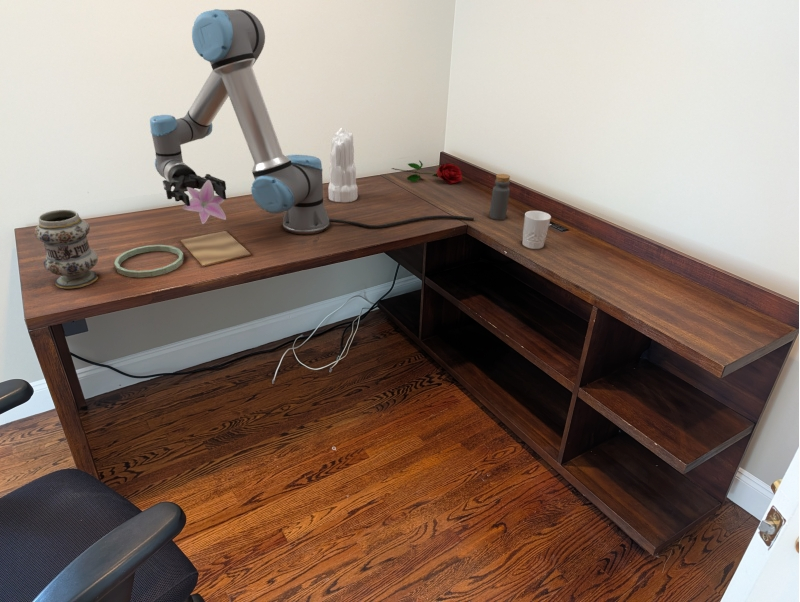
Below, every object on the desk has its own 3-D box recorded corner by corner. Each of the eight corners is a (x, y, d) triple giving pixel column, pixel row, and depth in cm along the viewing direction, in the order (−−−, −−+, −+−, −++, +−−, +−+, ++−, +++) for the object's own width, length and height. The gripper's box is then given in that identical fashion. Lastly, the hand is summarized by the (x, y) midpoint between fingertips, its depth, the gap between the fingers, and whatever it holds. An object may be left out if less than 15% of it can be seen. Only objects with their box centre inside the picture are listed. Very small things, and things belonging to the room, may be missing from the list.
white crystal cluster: (352, 203, 195) (352, 134, 183) (325, 200, 197) (322, 132, 184) (360, 194, 205) (360, 128, 192) (333, 191, 206) (332, 125, 194)
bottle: (487, 218, 188) (492, 176, 180) (491, 212, 192) (496, 172, 185) (503, 221, 186) (509, 179, 178) (507, 215, 191) (513, 174, 183)
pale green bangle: (194, 253, 155) (193, 248, 154) (163, 280, 140) (161, 275, 139) (139, 247, 157) (138, 242, 156) (102, 273, 142) (100, 268, 141)
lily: (178, 228, 148) (184, 203, 142) (180, 199, 155) (186, 174, 149) (222, 236, 154) (230, 212, 147) (223, 207, 161) (230, 184, 154)
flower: (393, 154, 213) (466, 162, 217) (391, 159, 223) (461, 166, 226) (391, 177, 214) (464, 184, 217) (389, 181, 223) (459, 188, 226)
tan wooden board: (180, 241, 162) (180, 240, 161) (225, 232, 169) (225, 230, 169) (203, 266, 148) (202, 264, 148) (250, 255, 155) (250, 253, 155)
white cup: (531, 251, 164) (536, 221, 159) (515, 242, 170) (519, 212, 165) (550, 247, 168) (556, 217, 163) (534, 238, 174) (539, 209, 169)
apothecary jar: (107, 283, 138) (89, 218, 129) (53, 295, 131) (30, 228, 122) (98, 265, 146) (81, 203, 137) (48, 276, 140) (26, 211, 131)
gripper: (218, 182, 169) (246, 203, 153) (145, 194, 157) (167, 218, 142) (214, 159, 165) (243, 178, 150) (139, 169, 153) (162, 191, 138)
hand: (206, 197), depth 146 cm, fingers closed on lily, 9 cm apart
